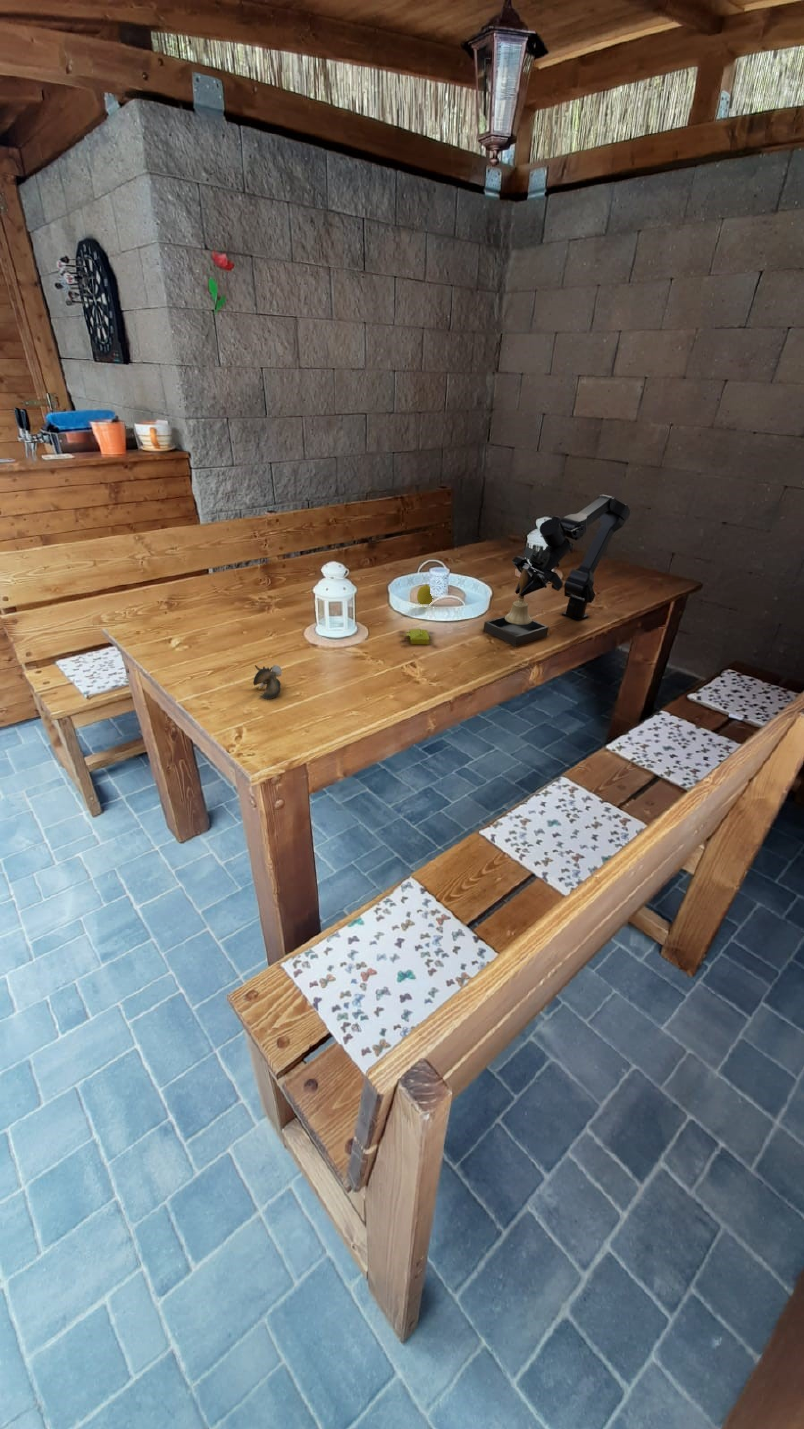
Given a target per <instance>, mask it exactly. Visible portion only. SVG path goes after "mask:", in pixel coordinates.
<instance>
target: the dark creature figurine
mask: <svg viewBox="0 0 804 1429" xmlns="http://www.w3.org/2000/svg"><path fill="white" fill-rule="evenodd" d="M254 668H255V669H256V670H257V672H256V673H255V675H254V677H253V681H252V684H253V685H254V686H257V685H259V686H258V690H261V689H263V688H264V687H265V690H264V692H263V693H262V696H261V697H262V698H263V699H266V700H271V699H274V698H276V697H279V695H280V694H281V685H282V684H281V681H280V679H278V677H279V678H280V677H282V673H283V672H282V671H283V670H282V667H281V666H279V665H278V664H273V665H272V666H271V667H270V668H269V666H268V667H267V668H266V666H264V665H263V667H262V668H259V666H258V665H254Z"/></svg>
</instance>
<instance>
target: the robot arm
mask: <svg viewBox="0 0 804 1429" xmlns="http://www.w3.org/2000/svg"><path fill="white" fill-rule="evenodd" d="M630 516H631V509H630V507H629V505H628V504H626V503H623V502H621V501H619V500H618V499H617V498H615V497H614V496H612V495H607V494H600V495H599V496H597V498H596V499H595V500H594V501H592V502H591V503H589V505H587V506H585V507H584V508H583V509H582V510H579V512H577V513H570V514H567V515H565V516H563V517H562V518H560V516H556V515H553V516H552V518H550V519H547V520H545V521H544V522H542V523H541V524H540V526H539V533H540V535H541V536H542V539H543V541H544V542H545V544H546V548H544V549H542V548H540V549H539V550H536V549H533V548H532V547H529V546H527V545H526V547H525V548H524V550H523V552H522V554H521V556H520V555H516V556H514V558H513V559H512V560H511V563H512V564H513V566H514V567H515V569H517V571H518V572H519V573H520V574H521V573H522V571H523V569H527V573H528V583H527V585H526V586H525V588H524V589H523V590H522V591H521V593H520V596H521V597H523V596H524V597H525V596H527V595H530V594H531V593H534V592H537V591H538V590H541V589H547V588H548V586H547V585H548V584H549V583H551V589H552V590H555V591H556V592H559V591H560V590H561V589H562V588H563V587H564V588H563V591H564V597H568V603H567V605H566V610H565V611H563V612H561V615H562V616H565V617H568V618H570V619H572V620H574V621H579V620H582V619H586V618H589V614H586V610H587V606H588V604H592V603H593V601H594V600H595V597H596V593H595V590H594V588H593V587H594V584H595V576H594V573H595V572H596V569H597V567H598V566H599V563H600V561H601V559H602V557H603V555H604V553H605V551H606V549H607V548H608V545H609V543H610V541H611V539H612V538H613V536H614V533H616V532H617V531H619V530H620V529H621V528H623V526H624V525H625V523H626V522H627V521H628V520H629V518H630ZM598 519H599V527H598V529H597V532H596V534H595V536H594V537H593V540H592V541H591V543H590V546H589V547H588V550H587V551H586V553H585V555H584V557H583V560H582V561H581V564H580V565H579V566H578V567H577V568H576V569H574V568H572V569H571V570H570V572H569V575H568V576H567V578H566V579H565V582H563V580H562V578H561V577H560V575H559V574H558V573H557V572H555V571H553V570H554V568H556V569H558V568H559V567H560V566H561V565H560V562H561V561H562V559H564V557H565V556H566V555H567V554H568V553H570V554H573V553H574V543H572V542H571V541H570V540H573V541H579V540H580V539H582V538H583V537H584V535H585V534H586V533H587V528H588V527H589V526H590V525H592V524H593V523H594V522H595V521H597V520H598ZM569 539H570V540H569ZM563 584H564V585H563ZM519 591H520V587H519V582H518V584H517V586H516V589H515V591H514V593H515V594H516V595H519Z"/></svg>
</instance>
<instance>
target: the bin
mask: <svg viewBox="0 0 804 1429" xmlns="http://www.w3.org/2000/svg"><path fill="white" fill-rule="evenodd" d="M505 616H506V615H503V616H500V617H497V618H493V619H488V620H485V621H484V622H483V632H485V633H488V634H489V635H491V636H494V637H495V638H497V639H499V640H501V641H503V642H506V643H508V644H509V645H512V646H513V647H517V646H518V647H519V646H521V645H524V644H527V643H530V642H533V641H536V640H539V639H542V638H545V637H547V636H548V634H549V626H548V625H545V624H542V623H540V622H539V621H537V620H533V619H532V622H531V623H529V624H526V625H517V624H512V623H509V622H507V621H506V620H505Z"/></svg>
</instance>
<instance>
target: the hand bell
mask: <svg viewBox="0 0 804 1429" xmlns="http://www.w3.org/2000/svg"><path fill="white" fill-rule="evenodd" d="M518 583H519V587H520V591H519V593H518V596H517V597H518V599H517V600H515V601H513V603H512V606H511V609H510V611H509V612H508V613H507V614H506V615H504V616H505V620H506V621H507V622H509V623H512V624H517V625H526V624H529V623H531V622H532V620H533V619H532V617H531V616H530V614H529V606H528V605H529V604H528V603H527V602H526V601H525V596H523V597H521V596H520V593H521V591H522V590H523V589H524V588H525V586H526V585H527V583H528V573H527V569H523V571H522V573H520V576H519V580H518Z"/></svg>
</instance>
